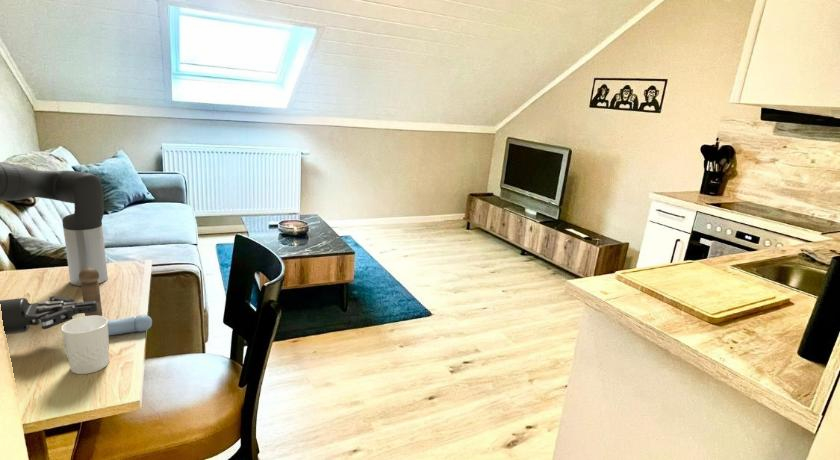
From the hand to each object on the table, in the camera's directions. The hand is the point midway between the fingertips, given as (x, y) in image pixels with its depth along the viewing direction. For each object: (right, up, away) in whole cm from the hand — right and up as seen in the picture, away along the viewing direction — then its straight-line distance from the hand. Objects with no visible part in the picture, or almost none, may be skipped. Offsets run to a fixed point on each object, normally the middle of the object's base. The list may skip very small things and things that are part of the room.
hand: (96, 305), depth 105 cm
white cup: (+5, -12, -9) cm, 15 cm away
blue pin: (-3, -6, 0) cm, 7 cm away
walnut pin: (-8, -5, +10) cm, 14 cm away
